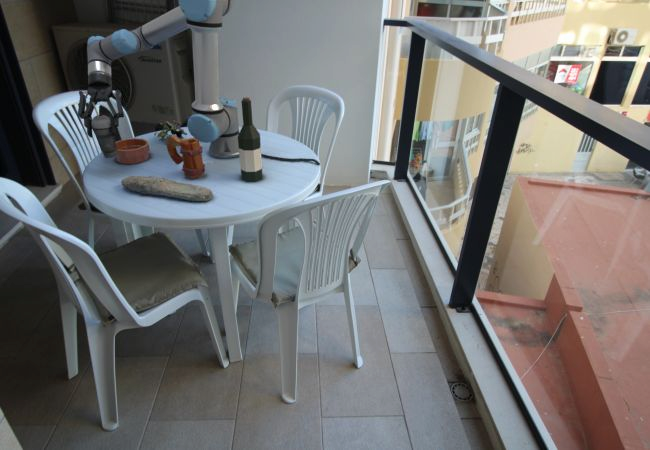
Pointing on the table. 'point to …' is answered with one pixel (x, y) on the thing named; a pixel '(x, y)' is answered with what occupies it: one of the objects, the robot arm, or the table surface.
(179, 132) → the passion flower
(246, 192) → the table surface
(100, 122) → the beverage cup
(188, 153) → the mug
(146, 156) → the bowl
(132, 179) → the long grey stone
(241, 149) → the wine bottle
